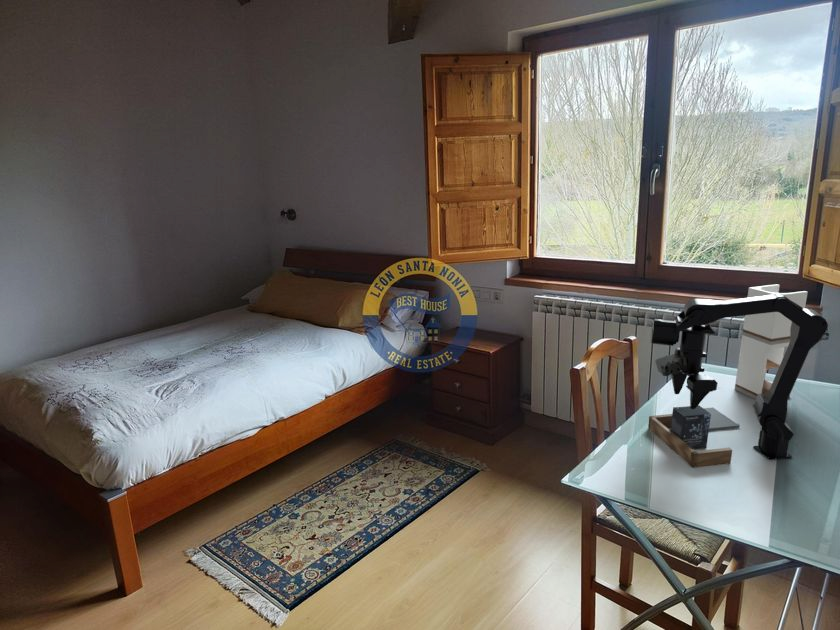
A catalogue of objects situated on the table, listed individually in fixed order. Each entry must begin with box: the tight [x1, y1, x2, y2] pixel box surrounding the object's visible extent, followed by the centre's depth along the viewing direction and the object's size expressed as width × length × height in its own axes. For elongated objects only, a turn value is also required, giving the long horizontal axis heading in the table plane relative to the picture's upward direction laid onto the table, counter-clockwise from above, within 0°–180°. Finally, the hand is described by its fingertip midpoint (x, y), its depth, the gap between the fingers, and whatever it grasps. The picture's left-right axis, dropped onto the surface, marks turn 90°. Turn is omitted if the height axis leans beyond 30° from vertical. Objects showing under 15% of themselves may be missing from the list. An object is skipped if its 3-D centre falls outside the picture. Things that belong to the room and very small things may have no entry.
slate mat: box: [703, 407, 740, 432], centre depth 166 cm, size 12×12×1 cm
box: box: [669, 404, 711, 450], centre depth 152 cm, size 8×6×11 cm
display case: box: [734, 283, 809, 401], centre depth 179 cm, size 11×11×35 cm
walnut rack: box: [647, 413, 733, 469], centre depth 153 cm, size 21×10×4 cm, turn 8°
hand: (684, 401), depth 152 cm, fingers open, 9 cm apart
